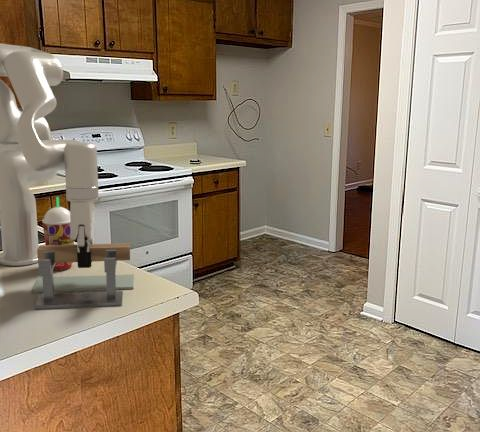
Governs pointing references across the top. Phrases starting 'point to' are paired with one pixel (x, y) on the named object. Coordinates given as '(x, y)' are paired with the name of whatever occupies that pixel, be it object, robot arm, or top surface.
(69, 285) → the mat
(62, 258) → the rail
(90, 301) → the stand
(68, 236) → the smoothie
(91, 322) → the top surface
